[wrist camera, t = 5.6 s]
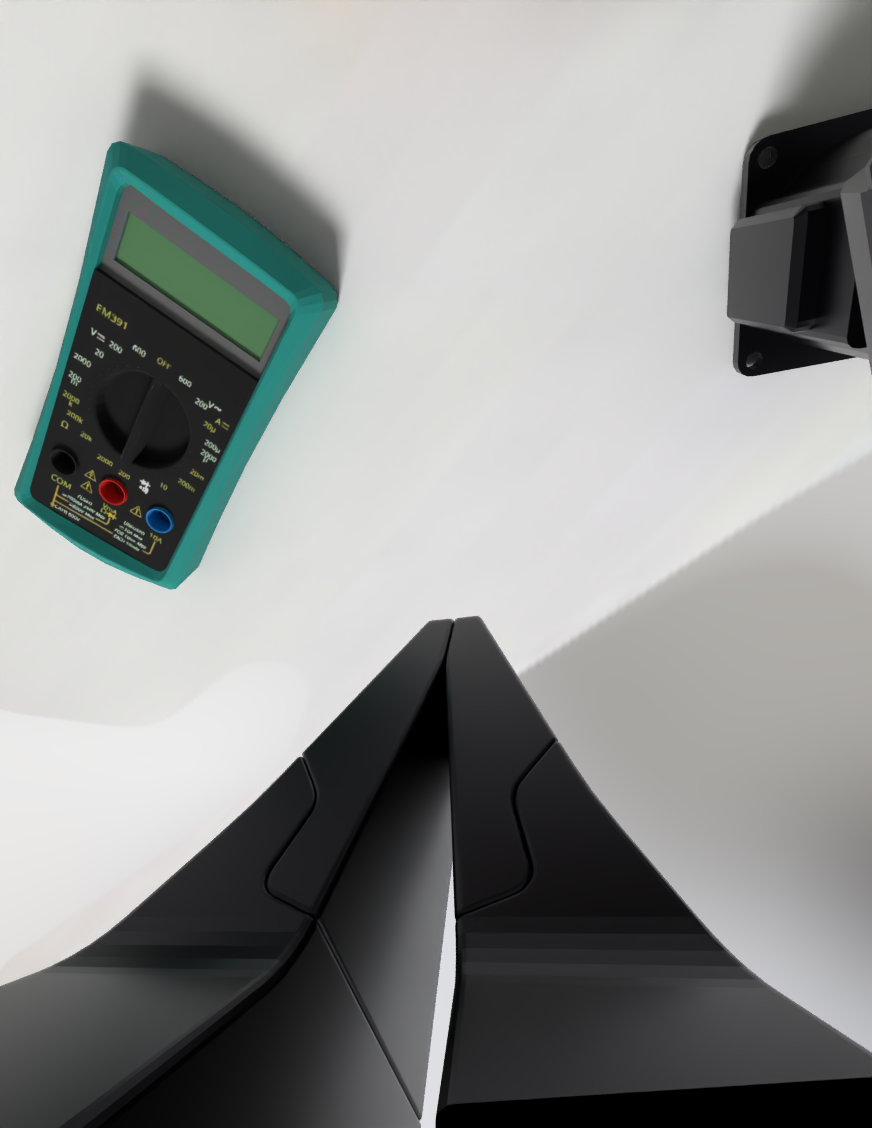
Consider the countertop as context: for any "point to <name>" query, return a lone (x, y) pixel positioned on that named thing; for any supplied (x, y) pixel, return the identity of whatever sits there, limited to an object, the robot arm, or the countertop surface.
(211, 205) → the digital multimeter
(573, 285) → the countertop surface
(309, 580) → the countertop surface
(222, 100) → the countertop surface
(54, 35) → the countertop surface
